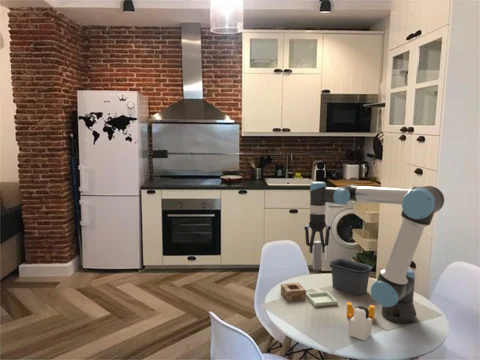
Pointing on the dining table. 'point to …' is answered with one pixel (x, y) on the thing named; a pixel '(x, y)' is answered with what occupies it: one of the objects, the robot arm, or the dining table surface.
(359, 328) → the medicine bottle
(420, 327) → the dining table surface
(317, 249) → the grey wooden beam
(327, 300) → the tray
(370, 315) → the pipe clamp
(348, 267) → the storage bin
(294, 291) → the hollow wooden square
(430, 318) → the dining table surface
